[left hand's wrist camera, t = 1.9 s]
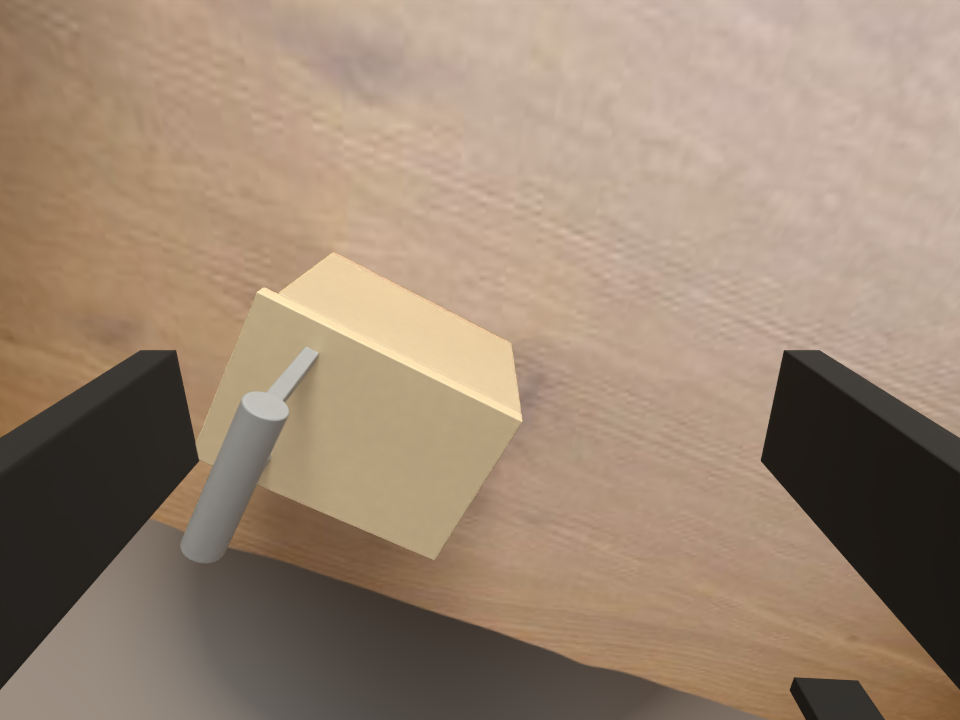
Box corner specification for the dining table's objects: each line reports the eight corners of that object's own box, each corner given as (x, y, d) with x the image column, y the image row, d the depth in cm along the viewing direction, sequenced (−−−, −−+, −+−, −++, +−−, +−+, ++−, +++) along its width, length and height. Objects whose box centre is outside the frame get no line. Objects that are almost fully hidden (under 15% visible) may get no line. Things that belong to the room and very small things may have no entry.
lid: (198, 447, 29) (101, 552, 22) (264, 286, 26) (177, 344, 19) (435, 550, 31) (421, 676, 24) (522, 413, 28) (536, 509, 21)
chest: (278, 374, 39) (210, 452, 29) (333, 251, 36) (277, 292, 26) (446, 452, 41) (435, 549, 31) (511, 343, 38) (521, 412, 28)
